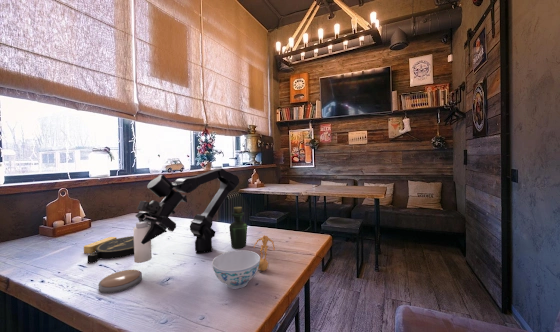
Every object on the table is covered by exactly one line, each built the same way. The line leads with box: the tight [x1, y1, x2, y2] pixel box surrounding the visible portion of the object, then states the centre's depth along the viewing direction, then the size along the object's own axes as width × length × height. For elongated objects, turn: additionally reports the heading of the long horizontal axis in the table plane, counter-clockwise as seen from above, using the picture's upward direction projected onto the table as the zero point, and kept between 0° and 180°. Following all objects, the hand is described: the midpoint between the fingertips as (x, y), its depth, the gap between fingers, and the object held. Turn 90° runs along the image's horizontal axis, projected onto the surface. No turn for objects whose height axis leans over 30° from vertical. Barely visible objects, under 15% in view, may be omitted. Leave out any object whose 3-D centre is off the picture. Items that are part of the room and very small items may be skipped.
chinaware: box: [211, 249, 261, 290], centre depth 73 cm, size 15×15×8 cm
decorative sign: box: [83, 235, 134, 264], centre depth 105 cm, size 29×3×25 cm
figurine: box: [253, 234, 276, 272], centre depth 83 cm, size 8×6×12 cm
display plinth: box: [98, 269, 143, 294], centre depth 75 cm, size 12×12×2 cm
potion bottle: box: [229, 206, 248, 250], centre depth 105 cm, size 8×8×18 cm
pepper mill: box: [132, 221, 153, 264], centre depth 80 cm, size 5×5×13 cm
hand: (138, 242), depth 79 cm, fingers closed on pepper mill, 5 cm apart
